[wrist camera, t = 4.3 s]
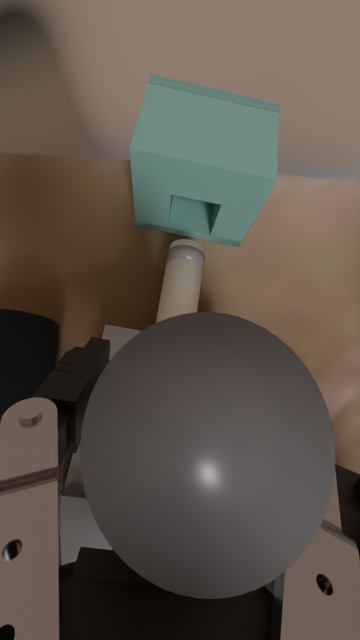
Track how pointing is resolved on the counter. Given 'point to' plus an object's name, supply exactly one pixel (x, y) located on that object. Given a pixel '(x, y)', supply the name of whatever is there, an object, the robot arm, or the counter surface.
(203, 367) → the grey piece
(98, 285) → the counter surface
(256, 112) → the teal block
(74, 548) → the grey grooved block
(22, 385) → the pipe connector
